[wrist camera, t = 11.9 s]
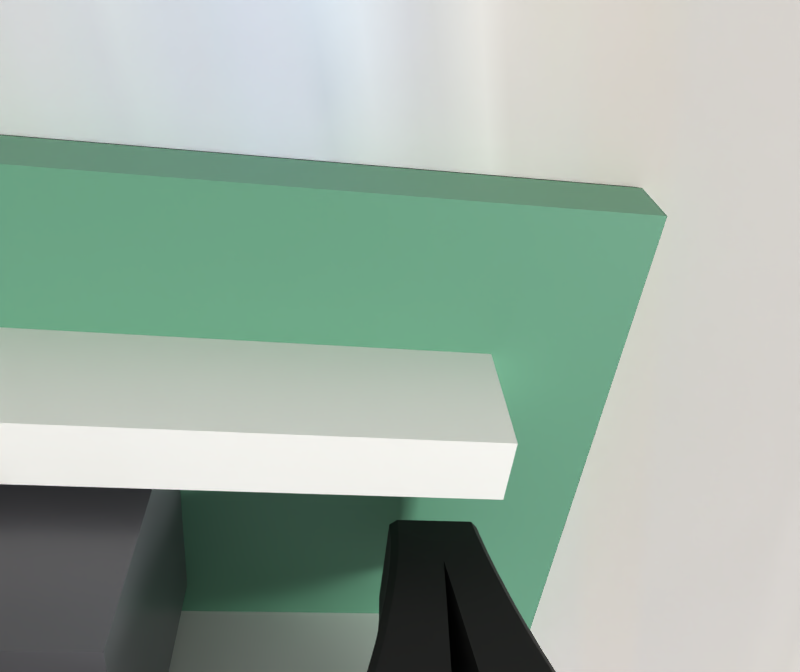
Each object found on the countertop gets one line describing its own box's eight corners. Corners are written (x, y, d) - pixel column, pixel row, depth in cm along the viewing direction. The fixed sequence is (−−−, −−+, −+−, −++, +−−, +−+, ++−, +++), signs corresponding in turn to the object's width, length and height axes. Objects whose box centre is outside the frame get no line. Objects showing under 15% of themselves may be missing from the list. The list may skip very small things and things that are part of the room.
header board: (495, 669, 17) (537, 896, 13) (-146, 666, 16) (-301, 923, 12) (641, 187, 11) (802, 367, 7) (-429, 99, 9) (-968, 270, 5)
